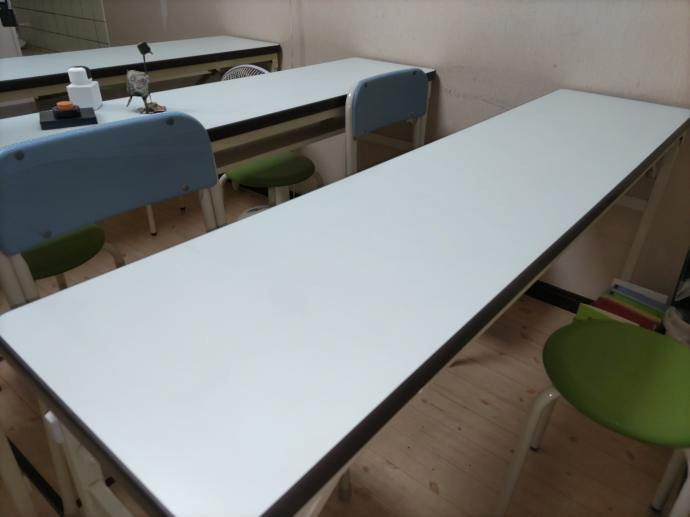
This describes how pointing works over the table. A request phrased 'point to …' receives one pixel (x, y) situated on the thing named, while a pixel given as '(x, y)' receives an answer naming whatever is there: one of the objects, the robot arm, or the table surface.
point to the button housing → (67, 117)
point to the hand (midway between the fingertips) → (10, 26)
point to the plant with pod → (141, 84)
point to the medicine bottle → (83, 88)
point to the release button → (65, 105)
